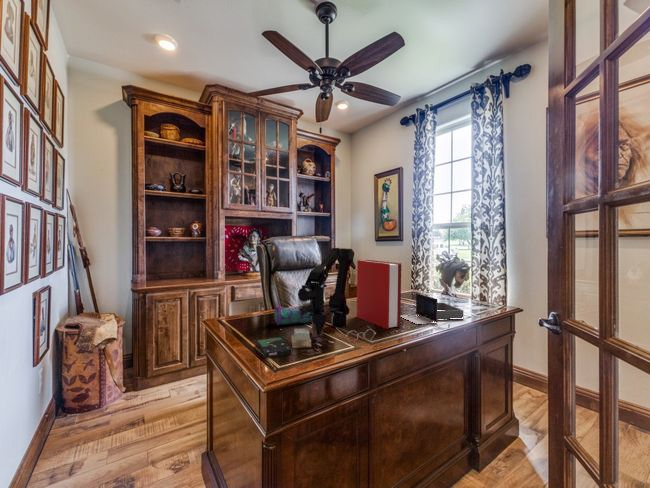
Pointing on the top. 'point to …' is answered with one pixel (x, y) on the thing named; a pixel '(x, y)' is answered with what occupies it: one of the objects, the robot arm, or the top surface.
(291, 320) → the pencil case
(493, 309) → the top surface
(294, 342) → the tower base
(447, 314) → the charger caddy
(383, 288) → the book
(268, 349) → the disk drive
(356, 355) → the top surface
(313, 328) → the walnut block
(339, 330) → the eyeglasses
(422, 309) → the laptop
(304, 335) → the tower top
